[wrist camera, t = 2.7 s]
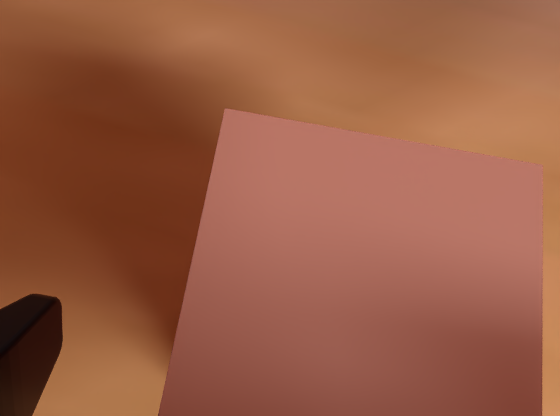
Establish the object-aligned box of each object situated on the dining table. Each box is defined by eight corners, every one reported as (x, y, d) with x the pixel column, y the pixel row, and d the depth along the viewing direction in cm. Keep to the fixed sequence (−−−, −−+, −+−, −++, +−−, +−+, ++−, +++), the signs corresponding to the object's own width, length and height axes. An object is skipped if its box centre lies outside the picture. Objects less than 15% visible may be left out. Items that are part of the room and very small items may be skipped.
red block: (364, 437, 16) (541, 528, 7) (203, 410, 16) (147, 463, 6) (380, 278, 18) (542, 165, 8) (234, 252, 18) (225, 108, 8)
